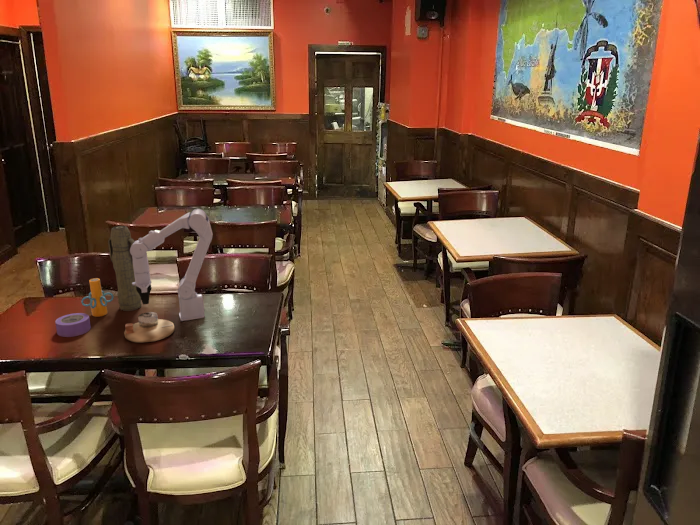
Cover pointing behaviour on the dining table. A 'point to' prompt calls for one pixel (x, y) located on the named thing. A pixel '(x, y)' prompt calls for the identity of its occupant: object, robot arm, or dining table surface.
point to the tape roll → (73, 324)
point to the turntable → (149, 331)
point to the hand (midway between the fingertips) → (145, 303)
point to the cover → (148, 319)
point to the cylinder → (97, 298)
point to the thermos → (124, 268)
